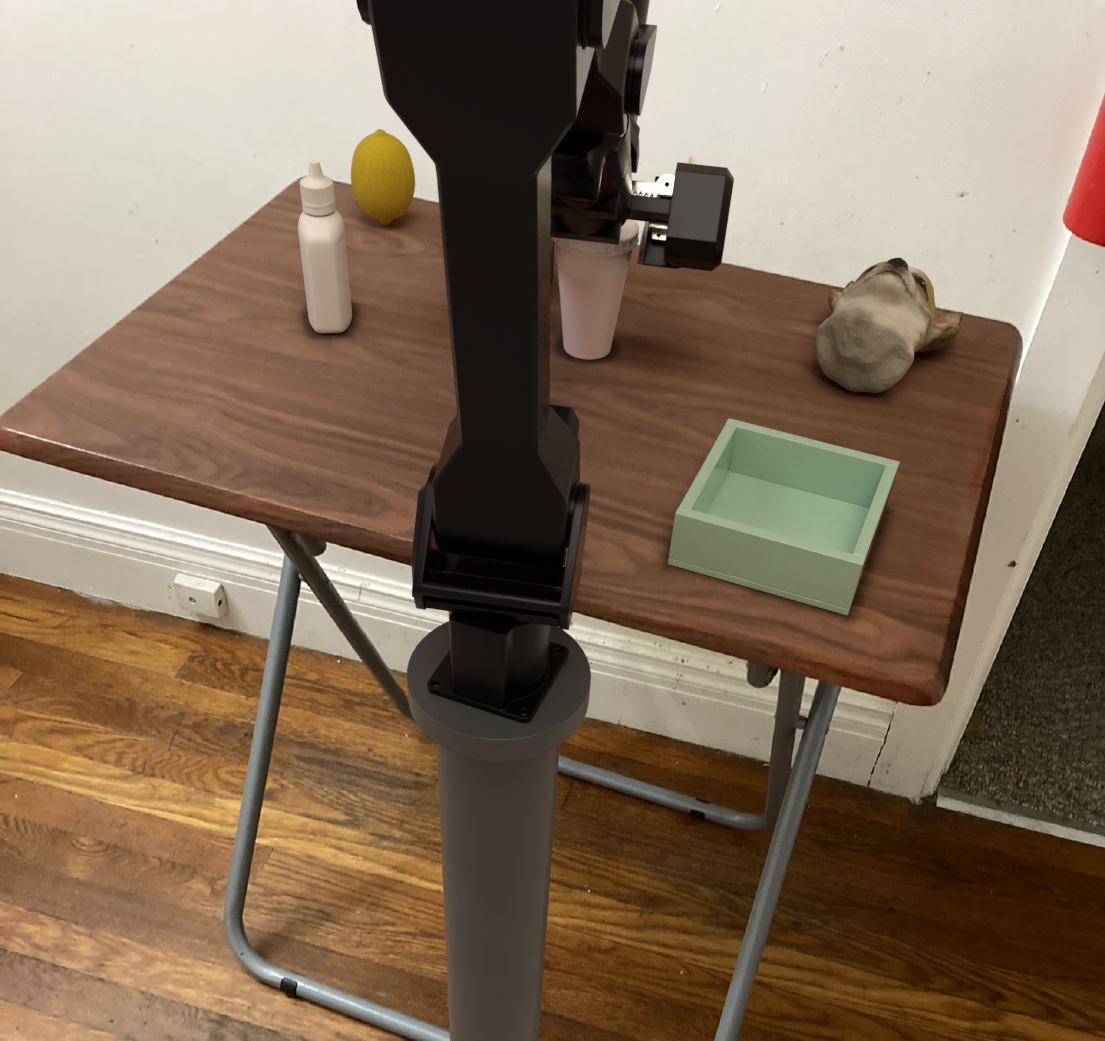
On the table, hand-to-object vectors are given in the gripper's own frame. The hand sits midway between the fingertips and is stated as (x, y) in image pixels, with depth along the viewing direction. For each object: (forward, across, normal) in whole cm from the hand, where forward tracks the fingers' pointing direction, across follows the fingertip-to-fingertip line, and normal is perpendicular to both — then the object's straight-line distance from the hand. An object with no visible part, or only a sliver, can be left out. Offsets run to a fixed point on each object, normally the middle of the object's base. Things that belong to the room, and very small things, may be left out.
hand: (595, 251), depth 87 cm
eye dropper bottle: (+4, +21, +6) cm, 22 cm away
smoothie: (+4, 0, +6) cm, 7 cm away
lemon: (+16, +21, -6) cm, 27 cm away
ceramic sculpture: (+6, -22, +4) cm, 23 cm away
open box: (-11, -16, +21) cm, 28 cm away
